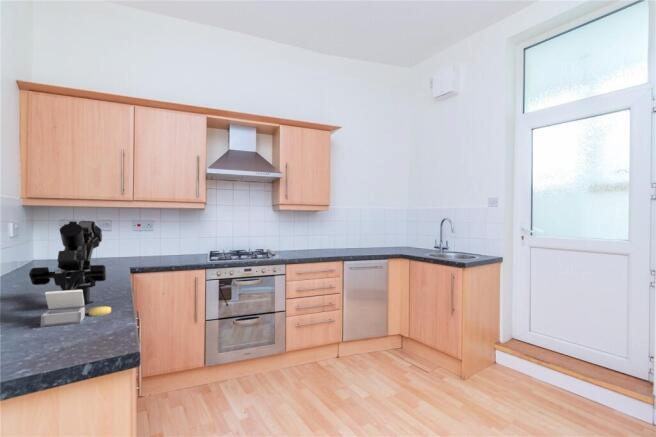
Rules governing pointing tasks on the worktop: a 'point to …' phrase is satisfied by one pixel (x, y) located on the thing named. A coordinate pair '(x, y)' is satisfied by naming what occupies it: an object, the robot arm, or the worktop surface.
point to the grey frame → (62, 317)
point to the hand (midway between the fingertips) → (65, 297)
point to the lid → (64, 299)
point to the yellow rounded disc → (99, 311)
